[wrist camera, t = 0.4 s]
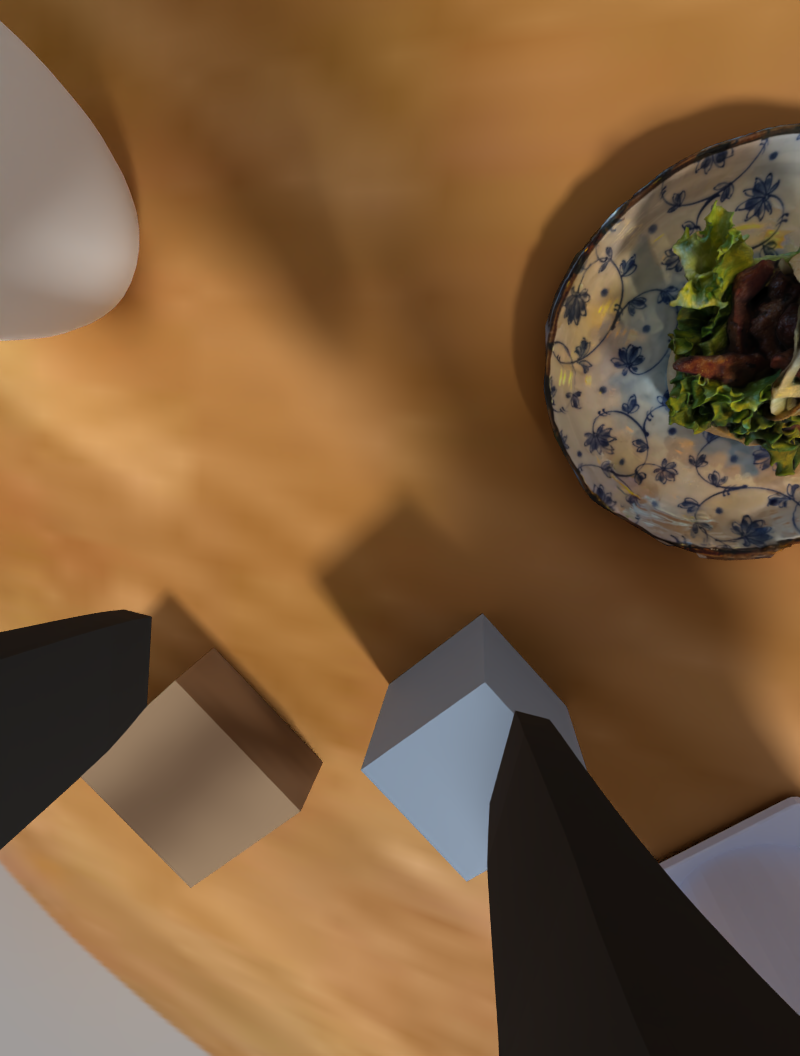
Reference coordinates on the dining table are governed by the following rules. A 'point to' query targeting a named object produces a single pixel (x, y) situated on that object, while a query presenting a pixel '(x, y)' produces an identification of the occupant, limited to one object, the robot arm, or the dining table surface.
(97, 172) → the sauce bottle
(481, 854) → the blue cube
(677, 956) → the robot arm
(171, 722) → the walnut block
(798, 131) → the salad bowl
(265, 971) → the dining table surface
